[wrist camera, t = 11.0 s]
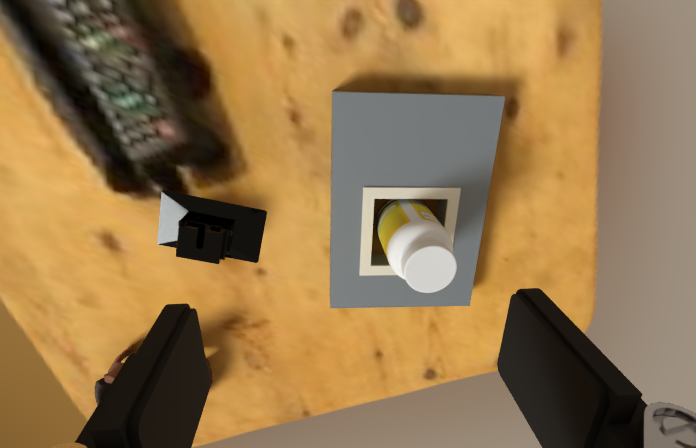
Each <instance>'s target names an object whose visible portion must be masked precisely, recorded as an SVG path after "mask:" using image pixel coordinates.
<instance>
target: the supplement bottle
mask: <svg viewBox="0 0 696 448" xmlns="http://www.w3.org/2000/svg"><path fill="white" fill-rule="evenodd" d="M376 230H377V233H378V236H379V239H380V242H381V244H382V247H383V249H384V252H385V254H386V257H387V259H388V262H389V264H390V266H391V268H392V269H393V271H394V272H395V273H396V274H397V275H398V276H399V277H401V278H403V279H405V280H406V282H407V283H408V285H409V286H410V287H412V288H413V289H414V290H416V291H419V292H423V293H432V292H436V291H439V290H441V289H443V288H445V287H446V286H447V285H448V284H449V283H450V282H451V281H452V280H453V278H454V276H455V274H456V270H457V263H456V259H455V257H454V255H453V243H452V239H451V237H450V235H449V234H448V232H447V231H446V229H445V228H444V227H443V226H442V225H441V223H440V222H439V221H438V220H437V218H436V217H435V216H434V215H433V214H432V212H431V211H430V210H429V209H428V208H427V206H426V205H425V204H424V203H423V202H421V201H420V200H418V199H392V200H390V201H388V202H387V203H386V204H385V205H384V206H383V207H382V208H381V209H380V211H379V213H378V215H377V218H376Z"/></svg>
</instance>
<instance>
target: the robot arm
mask: <svg viewBox="0 0 696 448" xmlns="http://www.w3.org/2000/svg"><path fill="white" fill-rule="evenodd" d="M497 364H498V371H499V373H500V376H501V377H502V379H503V381H504V382H505V384H506V386H507V387H508V389H509V391H510V393H511V394H512V396H513V397H514V400H515V401H516V403H517V405H518V406H519V408H520V410H521V411H522V413H523V415H524V417H525V418H526V420H527V422H528V424H529V425H530V427H531V429H532V431H533V432H534V434H535V436H536V437H537V439H538V441H539V443H540V444H541V446H542V448H696V413H694V412H692V411H690V410H687V409H685V408H683V407H680V406H677V405H674V404H671V403H663V402H657V403H651V404H650V405H647V404H646V403H645V402H644V401H643V400H642V399H641V396H642V393H641V392H640V391H639V390H638V389H637V388H636V387H635V386H634V385H633V384H632V383H631V382H630V381H629V380H628V379H627V378H626V377H625V376H624V375H623V374H622V373H621V372H620V371H619V370H618V368H617V367H616V366H615V365H614V364H613V363H612V362H611V361H610V360H609V359H608V358H607V357H606V356H605V355H604V354H603V353H602V352H601V351H600V350H599V349H598V348H597V347H596V346H595V345H594V344H593V343H592V342H591V341H590V340H589V339H588V338H587V337H586V335H585V334H584V333H583V332H582V331H581V330H580V329H579V328H578V327H577V326H576V325H575V324H574V323H573V322H572V321H571V320H570V319H569V318H568V317H567V316H566V315H565V314H564V313H563V312H562V311H561V310H560V309H559V308H558V307H557V306H556V305H555V304H554V302H553V301H552V300H551V299H550V298H549V297H548V296H547V295H546V294H545V293H544V292H543V291H542V290H540V289H538V288H532V289H519V290H518V291H517V292H516V294H513V295H512V296H511V300H510V304H509V309H508V314H507V319H506V324H505V328H504V333H503V338H502V343H501V348H500V353H499V357H498V363H497ZM209 387H210V379H209V373H208V368H207V363H206V357H205V352H204V347H203V342H202V337H201V331H200V326H199V321H198V316H197V311H196V309H194V308H193V309H190V306H189V305H188V304H168V305H166V306H165V307H164V308H163V310H162V312H161V313H160V315H159V317H158V318H157V320H156V322H155V323H154V325H153V326H152V328H151V330H150V331H149V333H148V335H147V336H146V338H145V340H144V341H143V343H142V345H141V346H140V348H139V350H138V351H137V353H136V354H132V355H130V356H129V357H128V358H127V360H126V361H125V363H124V364H123V366H122V367H121V369H120V371H119V372H118V374H117V376H116V377H115V379H114V380H113V382H112V384H111V385H110V387H109V388H108V390H107V392H106V393H105V395H104V396H103V398H102V400H101V401H100V403H99V404H98V406H97V408H96V409H95V411H94V413H93V414H92V416H91V417H90V419H89V421H88V422H87V424H86V425H85V427H84V429H83V430H82V432H81V433H80V435H79V437H78V438H77V440H76V441H75V443H64V444H60V445H55V446H53V447H51V448H191V446H192V443H193V440H194V437H195V434H196V430H197V427H198V424H199V421H200V418H201V415H202V411H203V408H204V405H205V402H206V399H207V396H208V392H209Z"/></svg>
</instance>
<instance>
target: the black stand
mask: <svg viewBox="0 0 696 448" xmlns="http://www.w3.org/2000/svg"><path fill="white" fill-rule="evenodd" d="M266 215H267V212H266V211H265V210H260V209H255V208H250V207H245V206H240V205H235V204H230V203H225V202H220V201H215V200H210V199H205V198H200V197H195V196H190V195H185V194H181V193H176V192H171V191H166V190H163V191H162V195H161V206H160V218H159V229H158V241H157V243H158V244H159V245H164V246H169V247H175V248H176V257H181V258H187V259H192V260H198V261H204V262H209V263H215V264H219V263H220V261H221V259H222V260H225V258H226V257H228V258H233V259H239V260H244V261H249V262H255V263H257V262H258V259H259V254H260V248H261V243H262V237H263V232H264V226H265V221H266Z"/></svg>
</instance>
